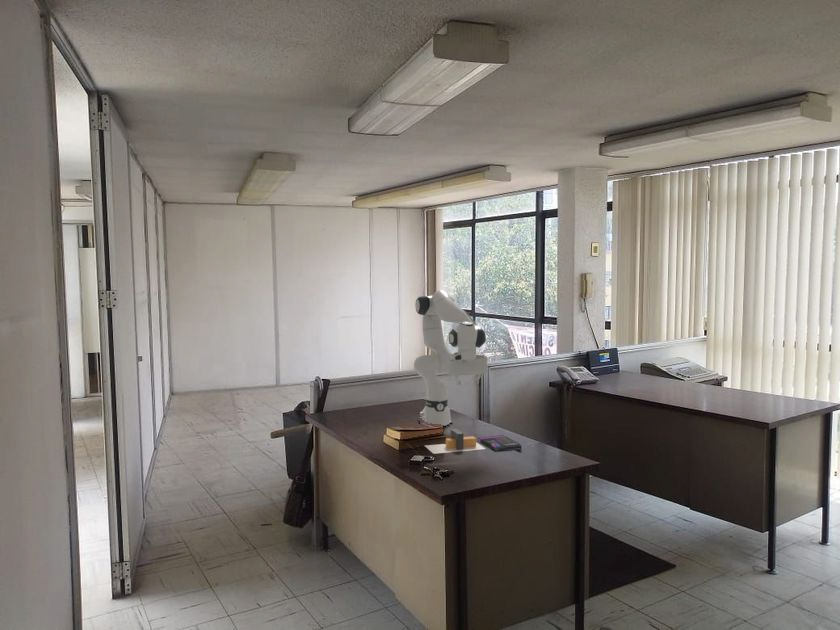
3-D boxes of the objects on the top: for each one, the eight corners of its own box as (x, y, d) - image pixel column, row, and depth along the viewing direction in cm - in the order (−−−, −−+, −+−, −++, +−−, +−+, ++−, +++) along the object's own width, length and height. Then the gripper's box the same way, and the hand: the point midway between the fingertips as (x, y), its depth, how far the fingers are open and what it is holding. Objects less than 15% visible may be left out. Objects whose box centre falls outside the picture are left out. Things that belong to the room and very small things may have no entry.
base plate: (424, 447, 294) (424, 445, 294) (474, 443, 302) (474, 441, 302) (433, 455, 281) (433, 453, 281) (486, 451, 288) (486, 448, 288)
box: (477, 444, 303) (495, 454, 284) (477, 437, 303) (494, 447, 284) (503, 441, 307) (521, 451, 289) (503, 434, 307) (521, 444, 289)
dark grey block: (450, 444, 296) (450, 429, 295) (456, 443, 296) (456, 428, 296) (457, 449, 287) (457, 434, 286) (463, 448, 287) (463, 433, 287)
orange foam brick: (445, 446, 292) (445, 438, 292) (472, 444, 296) (473, 436, 296) (448, 449, 288) (448, 440, 288) (476, 446, 292) (476, 438, 292)
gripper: (484, 354, 303) (484, 382, 303) (445, 355, 297) (445, 384, 297) (489, 355, 297) (490, 383, 297) (449, 356, 291) (450, 386, 291)
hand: (467, 384), depth 297 cm, fingers open, 8 cm apart
